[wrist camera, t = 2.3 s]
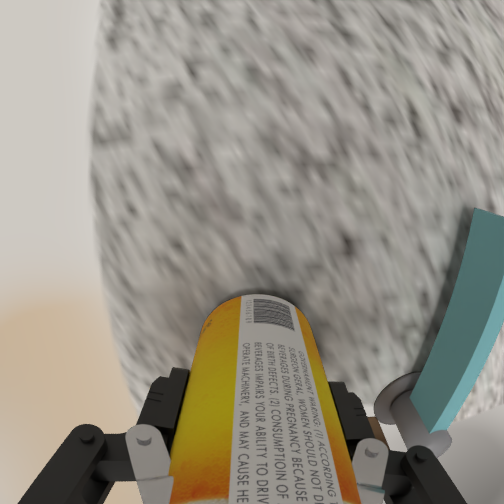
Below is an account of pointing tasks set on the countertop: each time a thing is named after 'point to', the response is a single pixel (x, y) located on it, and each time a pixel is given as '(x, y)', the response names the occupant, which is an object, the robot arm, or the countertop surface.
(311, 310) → the countertop surface
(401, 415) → the gate
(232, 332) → the beer can
